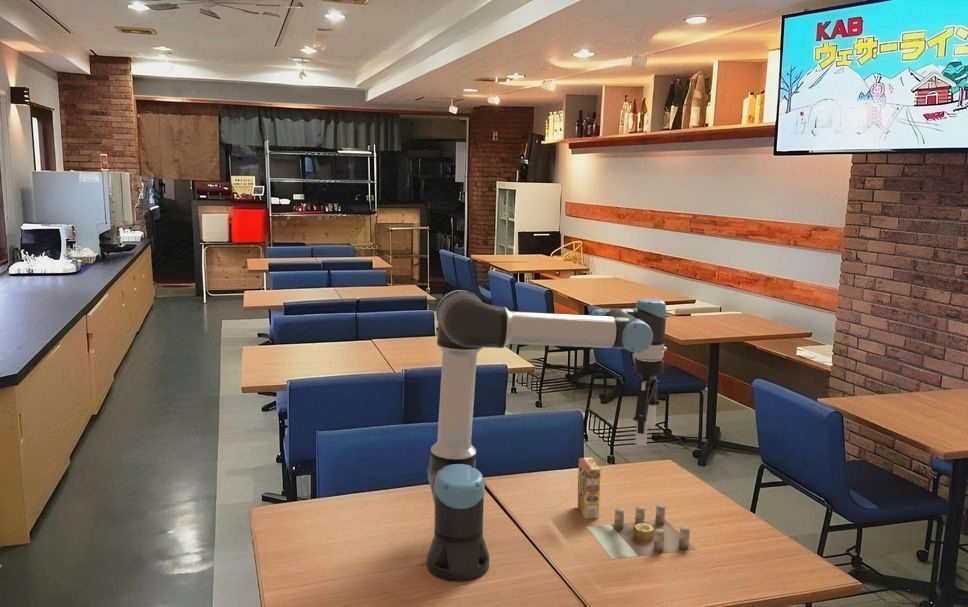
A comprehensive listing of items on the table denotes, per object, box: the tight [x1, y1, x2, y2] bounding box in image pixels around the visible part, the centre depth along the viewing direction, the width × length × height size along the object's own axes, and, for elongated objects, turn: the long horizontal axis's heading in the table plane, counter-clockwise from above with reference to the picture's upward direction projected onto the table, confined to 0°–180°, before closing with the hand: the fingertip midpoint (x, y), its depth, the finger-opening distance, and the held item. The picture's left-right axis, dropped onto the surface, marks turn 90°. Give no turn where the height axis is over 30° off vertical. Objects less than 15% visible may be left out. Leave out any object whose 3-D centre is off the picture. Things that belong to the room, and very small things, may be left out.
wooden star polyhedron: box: [633, 523, 654, 542], centre depth 191 cm, size 4×5×3 cm
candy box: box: [576, 457, 602, 519], centre depth 205 cm, size 9×4×15 cm, turn 8°
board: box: [586, 503, 698, 560], centre depth 190 cm, size 23×17×6 cm
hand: (645, 436), depth 195 cm, fingers open, 13 cm apart
